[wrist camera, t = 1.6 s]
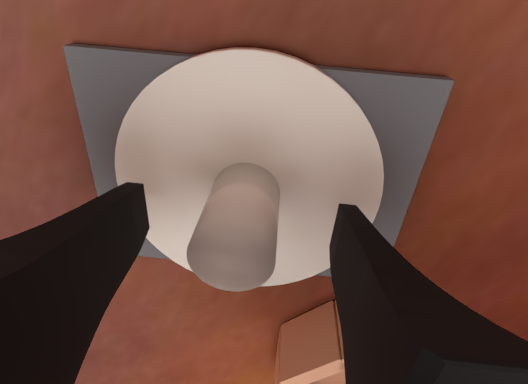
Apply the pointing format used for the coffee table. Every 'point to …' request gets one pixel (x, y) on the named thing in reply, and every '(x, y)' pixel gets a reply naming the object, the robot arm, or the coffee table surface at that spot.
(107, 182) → the mat
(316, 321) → the bowl
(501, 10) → the coffee table surface
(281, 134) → the lid
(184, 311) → the coffee table surface
